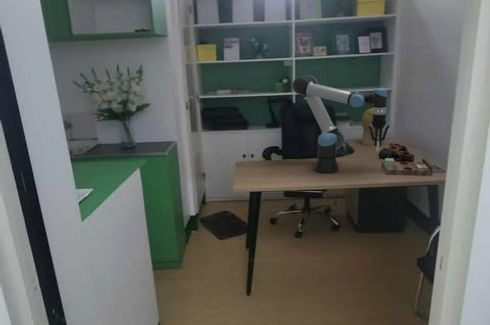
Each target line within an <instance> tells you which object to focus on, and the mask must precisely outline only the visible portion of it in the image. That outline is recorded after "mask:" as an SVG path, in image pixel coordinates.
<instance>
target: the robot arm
mask: <svg viewBox="0 0 490 325" xmlns="http://www.w3.org/2000/svg"><path fill="white" fill-rule="evenodd" d="M291 87H292V90H293V92H294V93H295V94H297V95H299V96H300V95H301V97H302V99H303V100H306V102H307V103H308V106H309V108H310V110H311V112H312V114H313V117H314V118H315V120H316V122H317V124H318V125H319V128H320V130H321V134H320V135H319V134H318V138H317V159H316V162H315V165H314V170H315V172H318V173H321V174H334V173H337V172H338V171H339V164H338V161H337V150H338V149H341V148H342V147H343V145H344V144H345V136H344V134H343V133H342V132H341V131H340V130H339V128H338V127H337V126H336V125H334V123H333V122H332V120H331V117H330V114H328V111H327V109H326V107H325V105H324V103H323V100H322V99H325V100H328V101H331V102H333V101H334V102H338V103H342V104H346V105H349V106H351V107H353V108H360V107H362V106H364V105H373V106H372V108H373V121H372V124H370V125H368V127H369V128H370V133H371V138H372V140H374V141H375V144H374V145H373V146H374V147H375V152H380V147H381V146H382V141H385V140H386V135H387V133H388V130H389V128H390V124H387V122H386V121H387V120H386V119H387V118H386V117H387V116H386V113H387V100H388V90H387V88H381V87H379V88H374V89H373V91H356V92H353V91H348V90H343V89H340V88H337V87H336V88H335V87H332V86H331V87H330V86H327V85H322V84H319V82H318V80H317V79H316V77H314V76H313V75H307V74H305V75H302V76H298V77H296V78H295V79H294V80H293V82H292V86H291ZM372 125H373V126H374V128H375V138H374V136H373V131H372ZM383 127H384V128H383ZM382 128H383V133H382ZM378 129H379V137H377V133H378Z"/></svg>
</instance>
